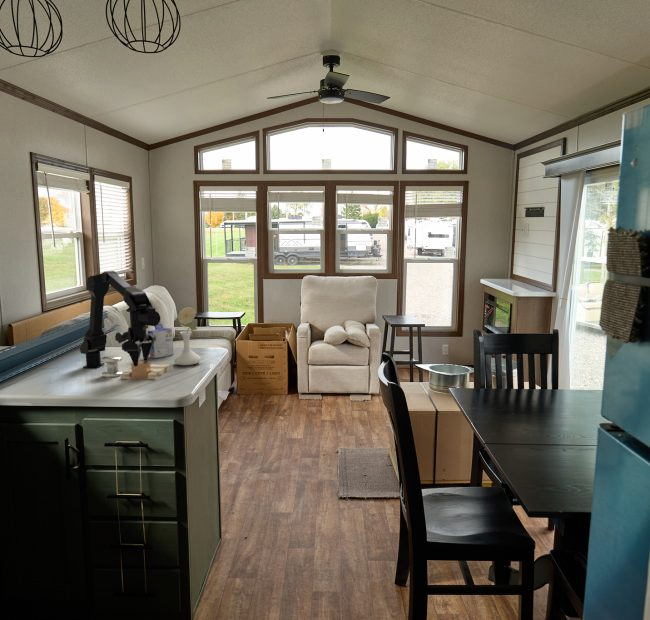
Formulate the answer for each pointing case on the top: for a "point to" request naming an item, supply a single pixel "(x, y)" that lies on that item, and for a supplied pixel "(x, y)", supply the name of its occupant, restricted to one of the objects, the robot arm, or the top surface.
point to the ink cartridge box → (162, 342)
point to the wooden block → (141, 370)
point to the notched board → (154, 374)
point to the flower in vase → (187, 338)
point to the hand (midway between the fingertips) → (140, 363)
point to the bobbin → (112, 366)
